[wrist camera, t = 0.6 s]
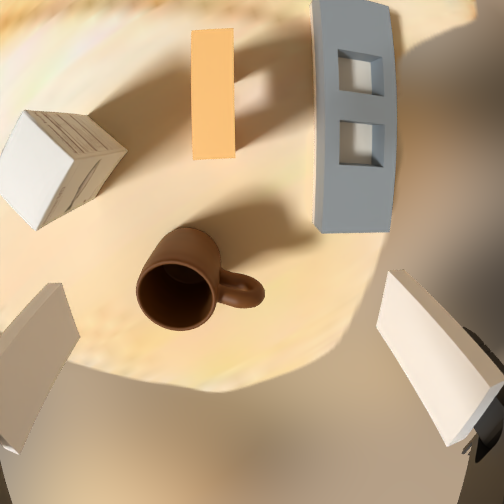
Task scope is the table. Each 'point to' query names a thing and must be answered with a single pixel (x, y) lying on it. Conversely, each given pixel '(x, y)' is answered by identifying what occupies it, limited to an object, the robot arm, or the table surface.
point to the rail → (353, 116)
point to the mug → (190, 282)
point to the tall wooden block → (212, 94)
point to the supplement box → (55, 164)
